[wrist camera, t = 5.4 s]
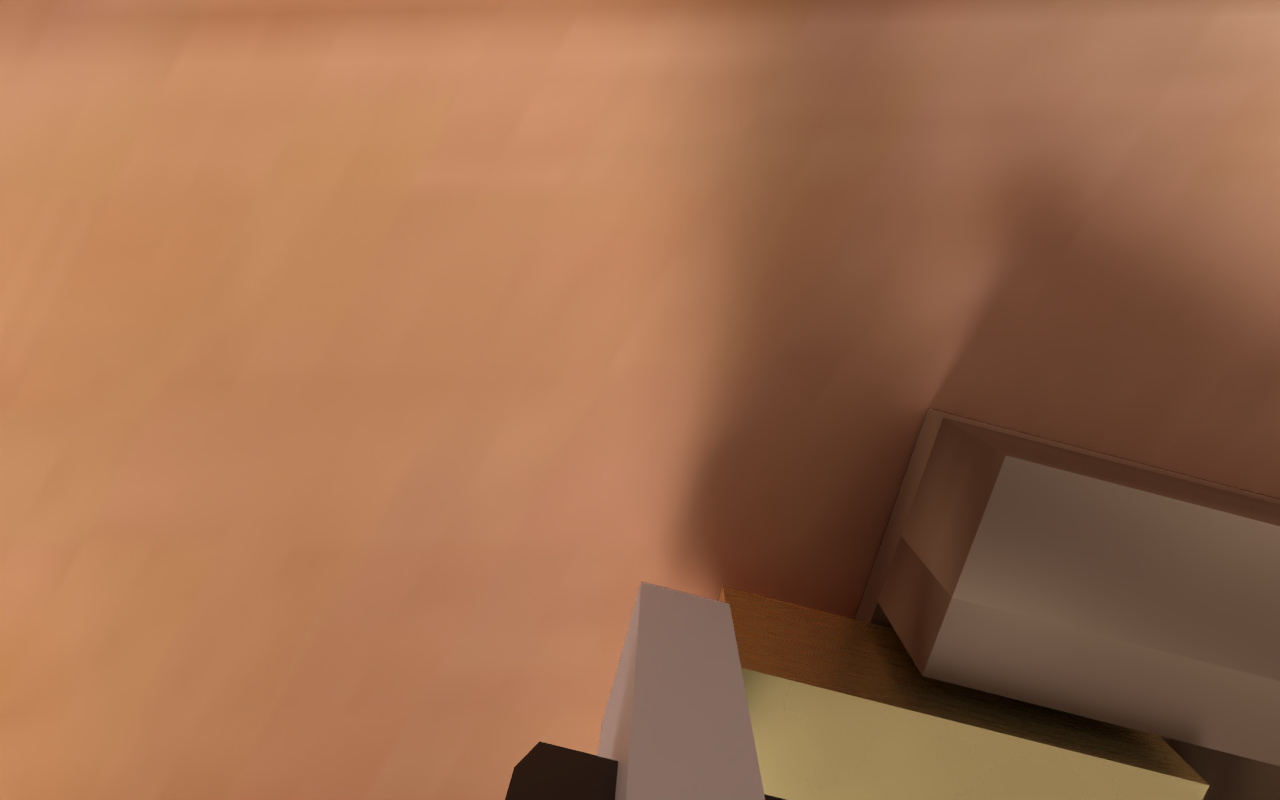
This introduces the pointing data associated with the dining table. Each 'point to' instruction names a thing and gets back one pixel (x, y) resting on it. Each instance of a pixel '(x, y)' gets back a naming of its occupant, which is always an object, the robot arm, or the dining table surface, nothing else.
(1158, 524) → the socket block
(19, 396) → the dining table surface
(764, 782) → the bar
